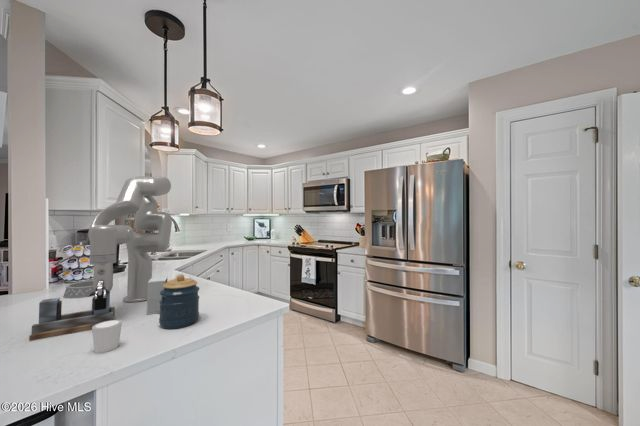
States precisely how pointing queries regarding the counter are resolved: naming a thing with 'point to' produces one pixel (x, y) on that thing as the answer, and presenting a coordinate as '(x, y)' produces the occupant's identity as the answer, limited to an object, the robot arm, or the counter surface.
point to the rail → (64, 320)
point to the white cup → (106, 335)
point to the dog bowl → (79, 289)
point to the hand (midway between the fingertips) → (101, 305)
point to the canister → (179, 303)
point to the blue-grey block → (102, 309)
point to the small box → (154, 294)
